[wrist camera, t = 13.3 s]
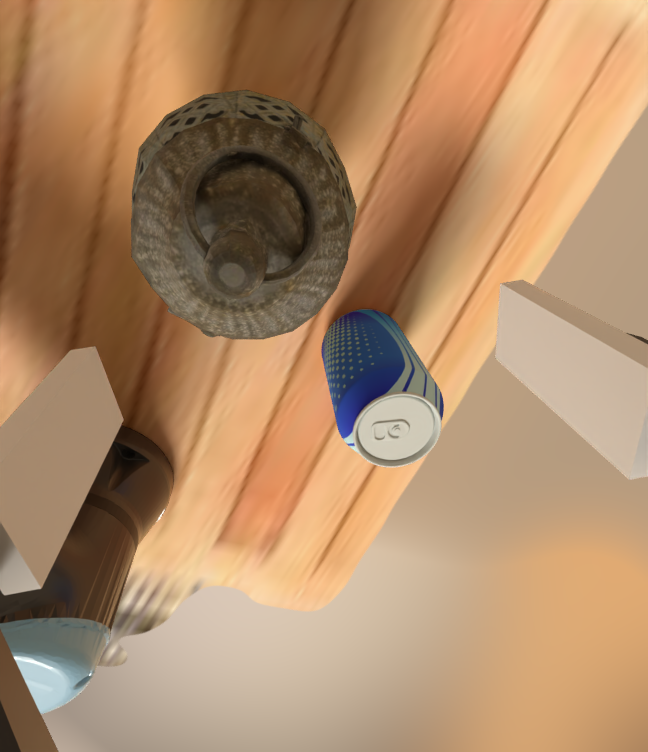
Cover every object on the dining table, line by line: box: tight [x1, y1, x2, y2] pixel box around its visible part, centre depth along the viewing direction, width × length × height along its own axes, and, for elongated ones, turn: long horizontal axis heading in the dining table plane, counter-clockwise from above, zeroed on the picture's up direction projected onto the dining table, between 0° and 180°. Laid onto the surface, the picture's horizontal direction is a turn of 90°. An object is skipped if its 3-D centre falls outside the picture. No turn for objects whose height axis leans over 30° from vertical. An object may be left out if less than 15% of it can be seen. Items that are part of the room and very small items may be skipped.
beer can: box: [322, 309, 444, 467], centre depth 40 cm, size 8×8×16 cm
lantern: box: [131, 90, 357, 339], centre depth 29 cm, size 14×14×25 cm
